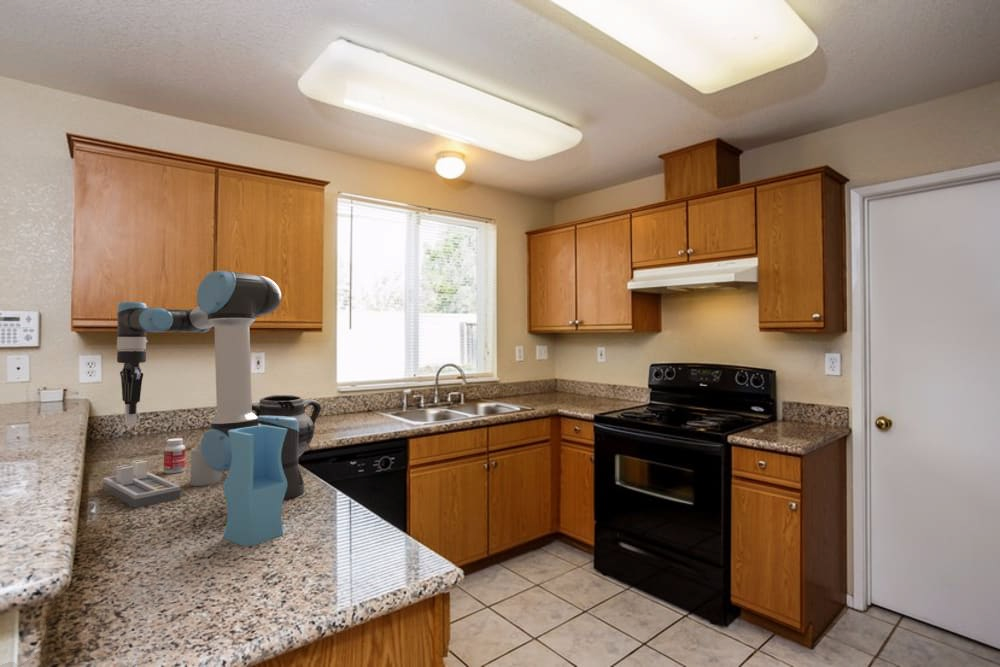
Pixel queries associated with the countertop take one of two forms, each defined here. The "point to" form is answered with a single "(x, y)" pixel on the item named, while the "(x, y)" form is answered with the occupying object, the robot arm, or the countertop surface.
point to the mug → (202, 470)
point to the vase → (255, 485)
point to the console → (143, 490)
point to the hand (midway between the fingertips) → (130, 423)
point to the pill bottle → (174, 456)
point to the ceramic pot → (291, 414)
